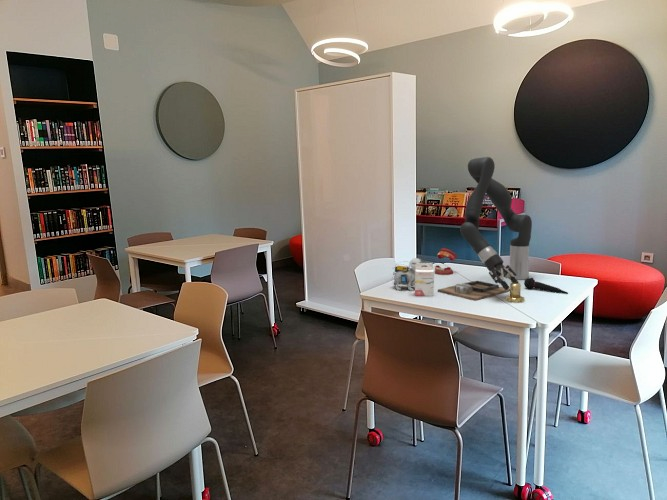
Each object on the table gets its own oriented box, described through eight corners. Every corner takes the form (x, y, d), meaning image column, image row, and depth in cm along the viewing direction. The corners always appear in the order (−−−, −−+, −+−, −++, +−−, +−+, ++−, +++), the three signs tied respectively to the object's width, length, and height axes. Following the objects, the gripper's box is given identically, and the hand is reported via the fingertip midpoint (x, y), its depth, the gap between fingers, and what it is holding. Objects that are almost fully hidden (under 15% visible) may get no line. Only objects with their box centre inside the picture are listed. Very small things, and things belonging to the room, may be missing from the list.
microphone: (567, 299, 228) (524, 288, 240) (571, 287, 227) (528, 277, 240) (564, 298, 223) (521, 287, 236) (568, 286, 223) (524, 275, 236)
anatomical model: (428, 272, 276) (435, 246, 277) (436, 275, 281) (443, 250, 282) (444, 275, 268) (451, 248, 269) (452, 278, 273) (459, 252, 275)
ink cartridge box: (415, 296, 229) (415, 265, 226) (414, 293, 234) (414, 263, 231) (434, 296, 228) (434, 264, 225) (433, 293, 233) (433, 262, 230)
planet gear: (512, 297, 222) (512, 281, 221) (527, 300, 216) (528, 283, 215) (501, 300, 218) (502, 283, 217) (517, 303, 212) (517, 286, 210)
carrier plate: (472, 283, 251) (473, 275, 250) (510, 291, 233) (511, 282, 233) (437, 291, 236) (437, 283, 235) (475, 300, 218) (475, 291, 218)
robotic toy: (425, 292, 236) (425, 261, 233) (389, 290, 241) (388, 260, 239) (428, 286, 247) (428, 256, 245) (394, 284, 253) (394, 255, 251)
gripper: (487, 255, 216) (510, 285, 210) (504, 251, 226) (527, 279, 219) (476, 265, 221) (498, 295, 214) (493, 261, 230) (515, 289, 224)
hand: (513, 287), depth 217 cm, fingers open, 8 cm apart
